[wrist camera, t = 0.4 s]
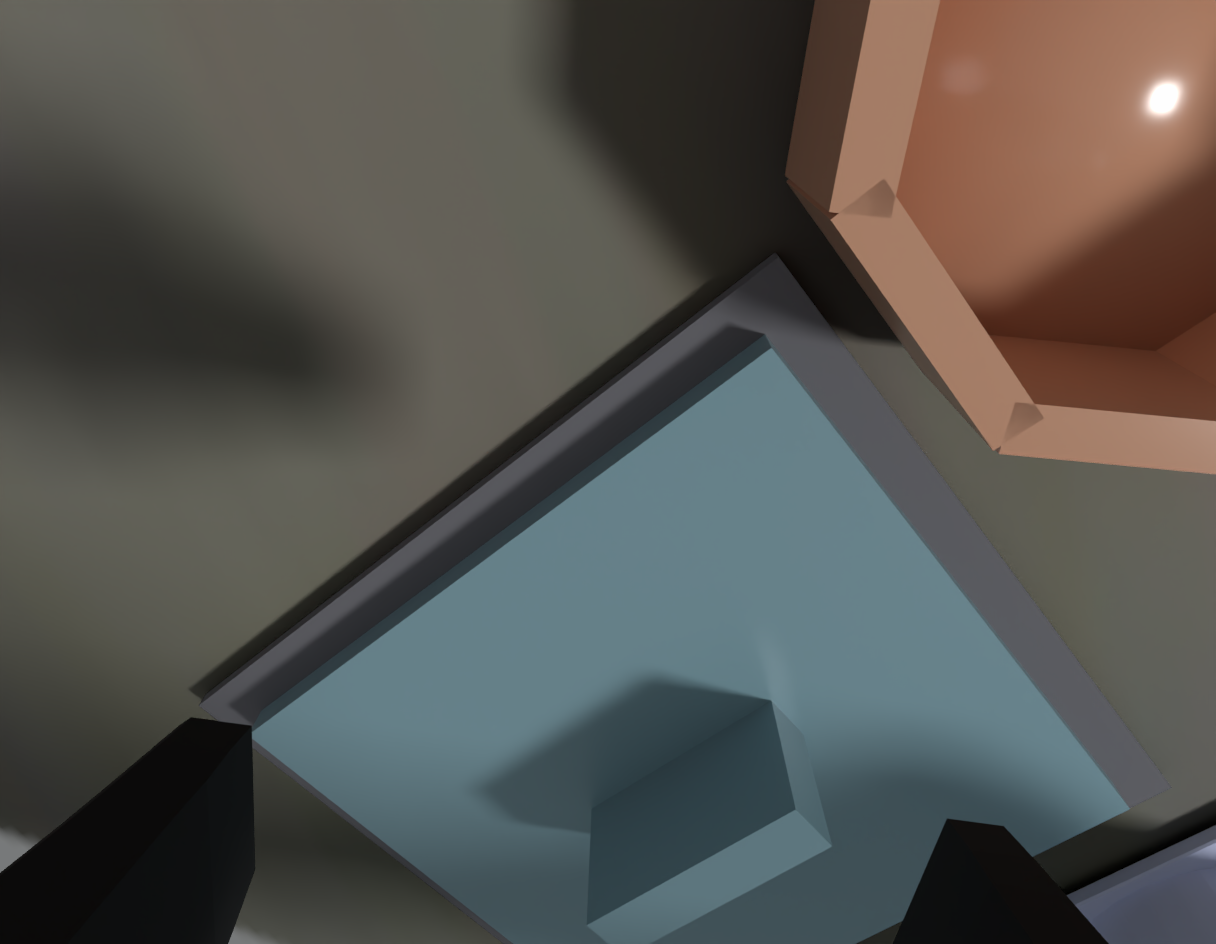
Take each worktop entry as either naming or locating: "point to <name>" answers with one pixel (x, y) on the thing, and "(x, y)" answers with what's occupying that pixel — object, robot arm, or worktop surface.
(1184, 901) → the robot arm
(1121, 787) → the mat
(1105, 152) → the bowl
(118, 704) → the worktop surface
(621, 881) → the cover sheet
